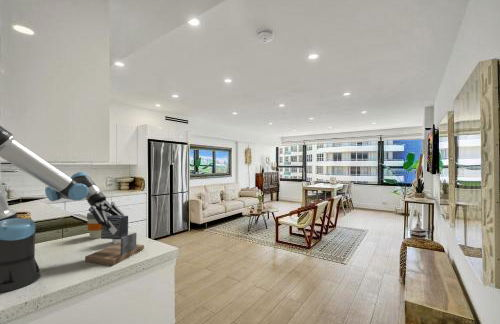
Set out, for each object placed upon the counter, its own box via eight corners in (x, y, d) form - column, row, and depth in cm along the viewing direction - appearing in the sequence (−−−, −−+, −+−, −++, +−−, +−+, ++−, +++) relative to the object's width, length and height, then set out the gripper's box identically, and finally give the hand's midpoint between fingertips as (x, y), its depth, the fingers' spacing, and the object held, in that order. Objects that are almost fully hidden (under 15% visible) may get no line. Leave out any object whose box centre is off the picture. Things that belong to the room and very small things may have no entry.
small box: (128, 235, 119) (129, 215, 119) (120, 239, 113) (120, 217, 113) (110, 235, 120) (110, 214, 121) (100, 238, 114) (100, 217, 114)
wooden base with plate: (113, 265, 104) (114, 241, 104) (85, 261, 108) (85, 239, 108) (144, 249, 124) (144, 229, 124) (118, 247, 127) (119, 228, 127)
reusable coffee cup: (106, 238, 144) (107, 213, 144) (83, 240, 140) (83, 215, 140) (112, 232, 156) (112, 210, 156) (90, 234, 152) (90, 211, 152)
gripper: (106, 199, 130) (131, 230, 126) (71, 205, 111) (99, 241, 107) (114, 189, 129) (139, 220, 125) (80, 194, 110) (109, 230, 106)
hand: (121, 230), depth 116 cm, fingers closed on small box, 7 cm apart
